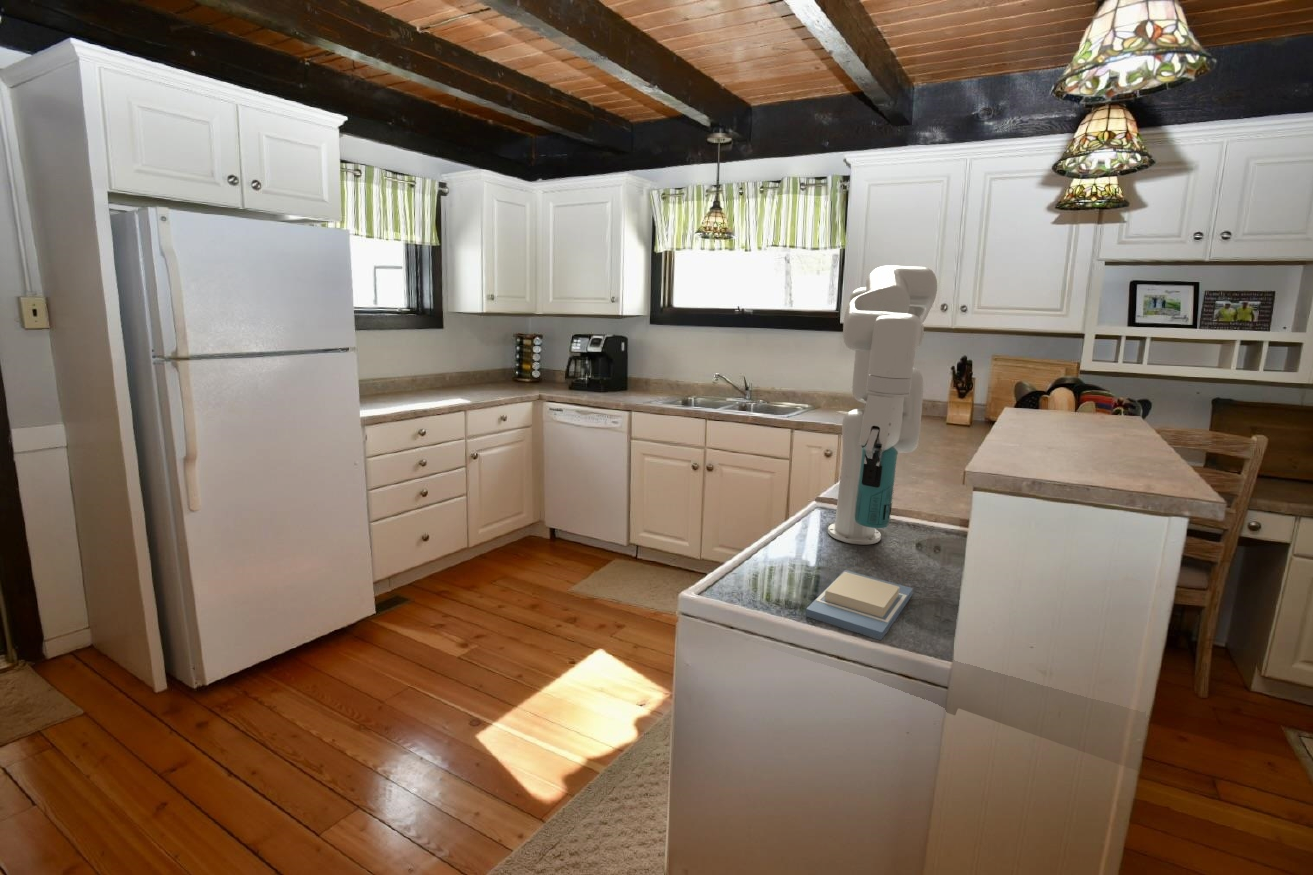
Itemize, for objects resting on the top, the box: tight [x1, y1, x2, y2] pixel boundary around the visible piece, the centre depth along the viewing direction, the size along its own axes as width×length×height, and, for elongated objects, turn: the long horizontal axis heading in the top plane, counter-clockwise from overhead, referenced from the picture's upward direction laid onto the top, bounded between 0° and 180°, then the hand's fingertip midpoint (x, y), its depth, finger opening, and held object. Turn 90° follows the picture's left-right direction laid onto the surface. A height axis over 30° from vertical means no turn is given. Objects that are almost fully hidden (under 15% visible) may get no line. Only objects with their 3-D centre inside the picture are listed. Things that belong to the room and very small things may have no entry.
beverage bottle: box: [854, 445, 899, 529], centre depth 128 cm, size 6×7×20 cm
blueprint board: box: [805, 569, 914, 641], centre depth 134 cm, size 22×14×4 cm, turn 147°
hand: (876, 480), depth 128 cm, fingers closed on beverage bottle, 6 cm apart
